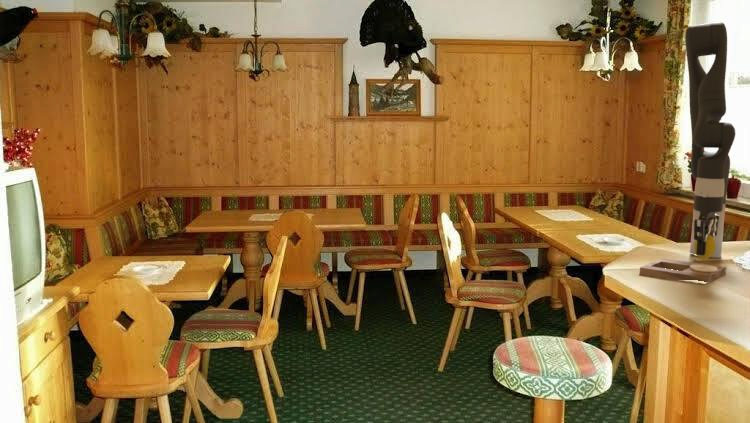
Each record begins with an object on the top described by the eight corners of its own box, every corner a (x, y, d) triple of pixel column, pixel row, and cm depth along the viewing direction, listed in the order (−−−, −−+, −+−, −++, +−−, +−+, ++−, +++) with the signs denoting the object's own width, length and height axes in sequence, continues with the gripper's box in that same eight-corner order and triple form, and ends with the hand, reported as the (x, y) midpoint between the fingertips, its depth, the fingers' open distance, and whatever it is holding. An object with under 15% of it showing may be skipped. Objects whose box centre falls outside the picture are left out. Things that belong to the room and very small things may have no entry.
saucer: (694, 265, 216) (695, 262, 216) (720, 269, 212) (720, 266, 212) (686, 269, 211) (686, 266, 211) (712, 273, 206) (712, 270, 206)
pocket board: (663, 264, 227) (663, 257, 227) (725, 273, 215) (726, 267, 215) (639, 274, 214) (640, 267, 213) (704, 285, 202) (705, 277, 202)
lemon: (716, 263, 208) (718, 234, 207) (695, 261, 209) (697, 233, 208) (711, 259, 213) (714, 231, 212) (691, 257, 214) (693, 230, 213)
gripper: (703, 190, 216) (699, 247, 219) (686, 195, 205) (681, 255, 208) (731, 193, 211) (726, 251, 214) (714, 197, 200) (709, 259, 203)
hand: (704, 253), depth 211 cm, fingers closed on lemon, 5 cm apart
